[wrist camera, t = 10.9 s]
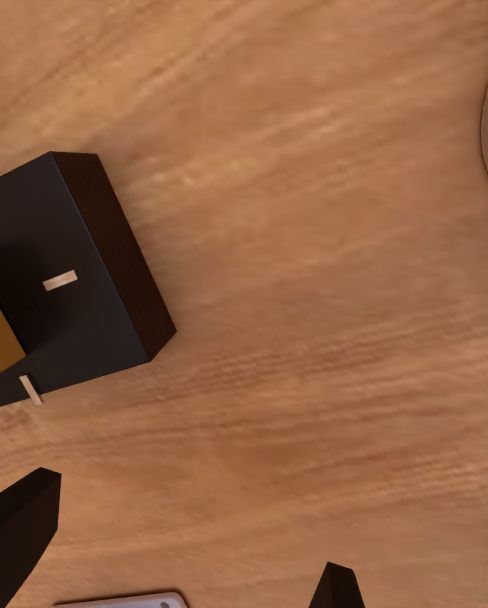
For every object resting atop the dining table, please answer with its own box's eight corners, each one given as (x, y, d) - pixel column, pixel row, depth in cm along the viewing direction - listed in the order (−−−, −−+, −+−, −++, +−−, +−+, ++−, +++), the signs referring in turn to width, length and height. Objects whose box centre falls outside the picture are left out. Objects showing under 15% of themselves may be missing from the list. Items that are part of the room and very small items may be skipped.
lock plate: (-4, 395, 21) (-57, 433, 18) (-98, 238, 19) (-175, 251, 16) (180, 338, 18) (153, 372, 15) (93, 144, 16) (42, 139, 13)
